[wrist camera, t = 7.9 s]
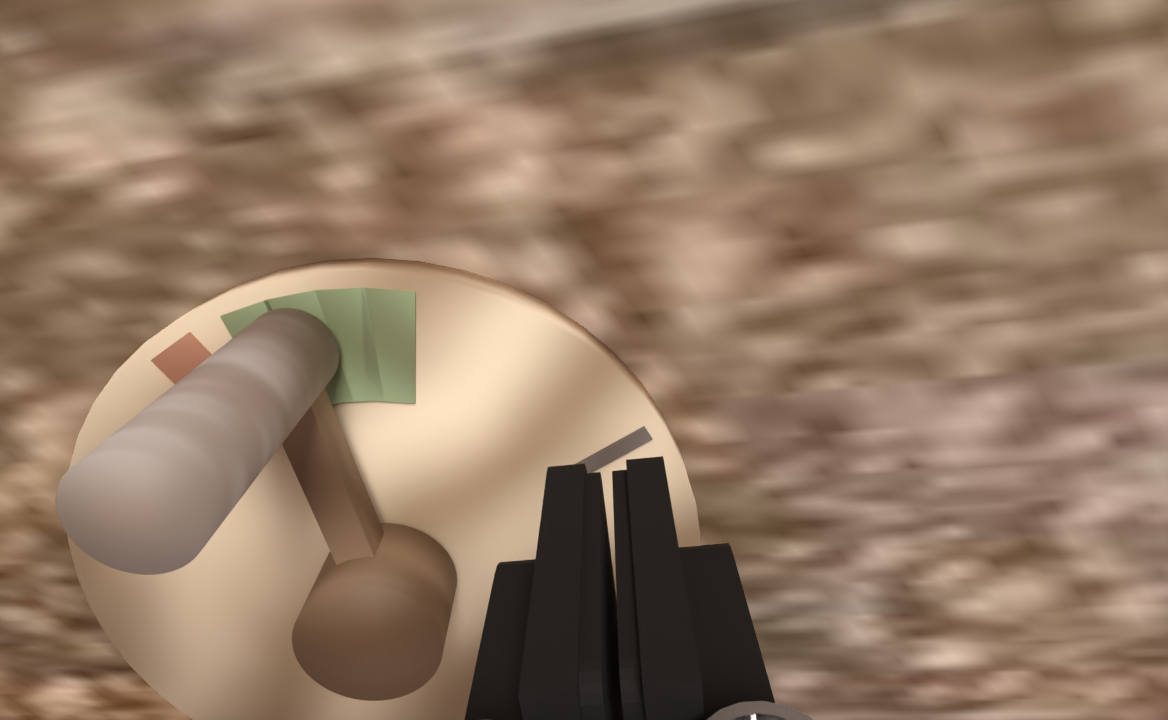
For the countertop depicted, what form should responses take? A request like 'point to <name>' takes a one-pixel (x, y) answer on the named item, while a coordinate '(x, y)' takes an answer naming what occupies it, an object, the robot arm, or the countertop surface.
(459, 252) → the countertop surface
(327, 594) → the lever
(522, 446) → the dial plate
